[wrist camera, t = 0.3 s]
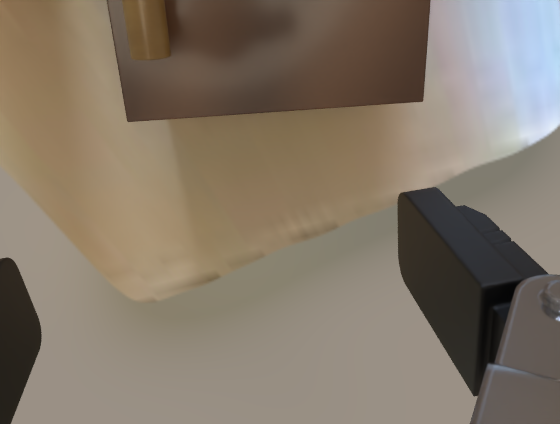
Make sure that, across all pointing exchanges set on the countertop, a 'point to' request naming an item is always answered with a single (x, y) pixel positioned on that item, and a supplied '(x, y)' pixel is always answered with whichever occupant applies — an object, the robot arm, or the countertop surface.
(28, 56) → the countertop surface
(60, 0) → the countertop surface
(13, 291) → the robot arm
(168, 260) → the countertop surface
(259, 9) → the lid
